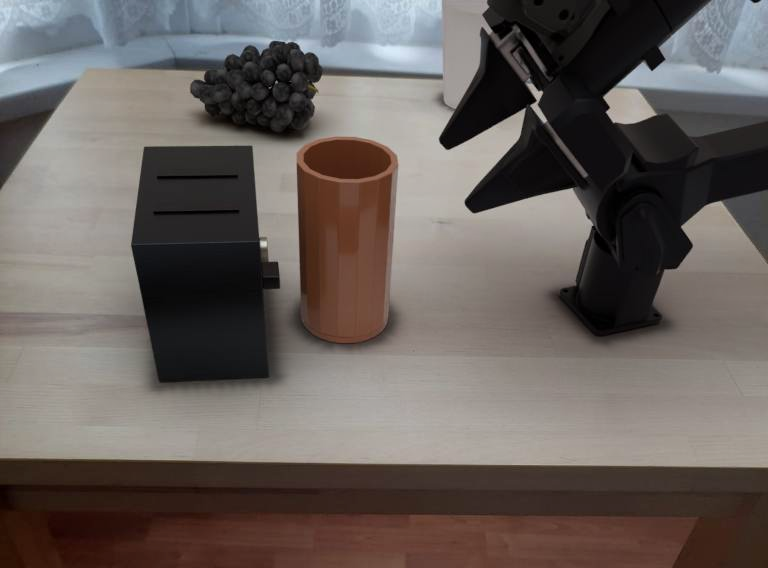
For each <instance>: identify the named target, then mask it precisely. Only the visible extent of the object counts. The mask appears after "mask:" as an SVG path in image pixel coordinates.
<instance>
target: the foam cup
mask: <svg viewBox="0 0 768 568" xmlns="http://www.w3.org/2000/svg"><path fill="white" fill-rule="evenodd" d="M488 8H489V6H488V5H487V0H441V40H442V41H441V42H442V43H441V44H442V45H441V46H442V93H443V102H444V104H445V105H446V106H448V107H449V108H450V109H453V110H455V109H456V108H457V106H458V104H459V102H460V101H461V99H462V97H463V96H464V94H465V92H466V90H467V89H468V87H469V85H470V83H471V81H472V79H473V78H474V76H475V74H476V72H477V70H478V68H479V64H480V51H481V37H480V30H481V28H482V27H483V28H484V29H485V30H486V32H487V33H488V34H490V33H491V32H492V30H491V28H490V27H489V25H488V24H487V22H486V20H485V19H484V17H483V16H482V14H483V13H484V12H485V11H486V10H487V9H488Z"/></svg>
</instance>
